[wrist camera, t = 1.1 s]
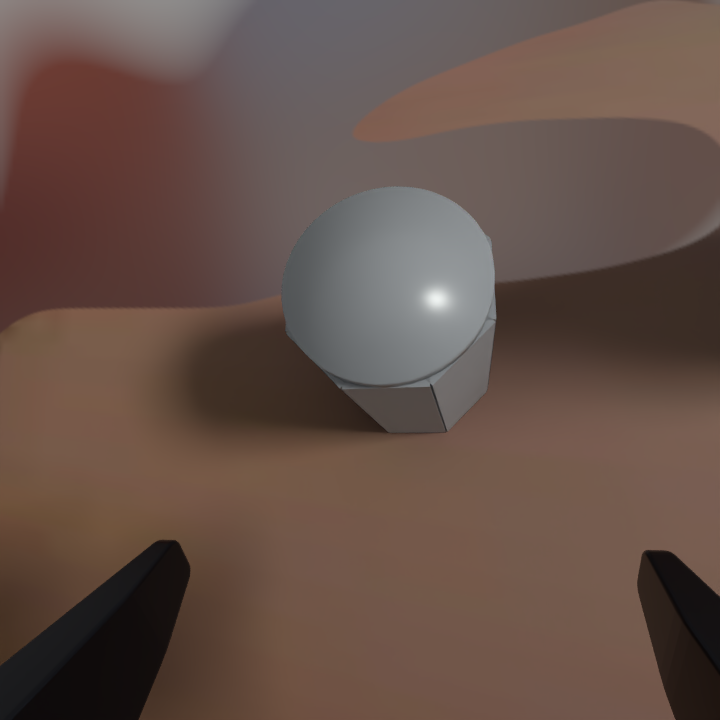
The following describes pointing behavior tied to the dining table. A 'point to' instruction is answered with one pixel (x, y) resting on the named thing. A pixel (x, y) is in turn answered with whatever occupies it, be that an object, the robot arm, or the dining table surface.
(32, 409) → the dining table surface
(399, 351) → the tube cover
